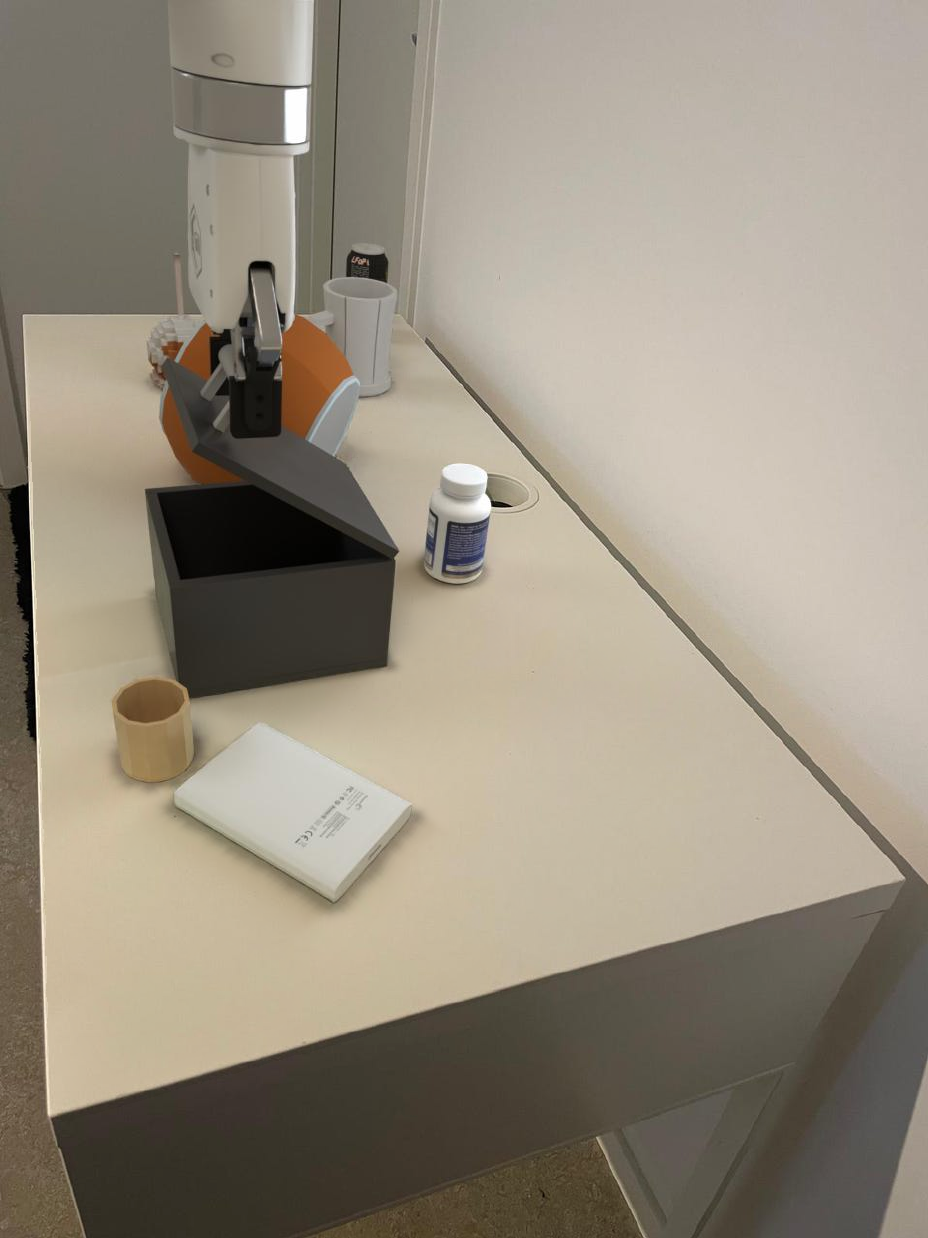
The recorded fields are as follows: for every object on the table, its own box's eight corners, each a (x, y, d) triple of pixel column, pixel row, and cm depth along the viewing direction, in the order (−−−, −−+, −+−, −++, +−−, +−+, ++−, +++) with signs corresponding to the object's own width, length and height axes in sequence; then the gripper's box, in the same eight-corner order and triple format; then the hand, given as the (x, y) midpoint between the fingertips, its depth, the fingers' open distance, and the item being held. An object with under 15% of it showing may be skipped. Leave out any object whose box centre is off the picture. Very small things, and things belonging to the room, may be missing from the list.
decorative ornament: (160, 398, 104) (148, 264, 96) (145, 373, 110) (132, 244, 101) (226, 393, 108) (221, 263, 99) (209, 368, 113) (202, 243, 104)
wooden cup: (124, 788, 57) (115, 731, 55) (117, 739, 61) (108, 683, 58) (198, 774, 59) (193, 718, 56) (187, 727, 62) (182, 671, 60)
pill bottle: (492, 567, 83) (507, 473, 78) (461, 592, 80) (475, 495, 74) (444, 546, 85) (455, 452, 80) (411, 569, 82) (421, 473, 76)
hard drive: (261, 736, 63) (411, 817, 58) (174, 809, 57) (334, 906, 52) (260, 719, 62) (413, 800, 57) (172, 791, 56) (334, 888, 51)
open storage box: (180, 700, 64) (169, 588, 59) (155, 593, 74) (144, 488, 69) (387, 666, 70) (396, 560, 64) (339, 571, 80) (343, 472, 74)
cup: (370, 408, 109) (375, 309, 102) (301, 391, 111) (302, 292, 104) (401, 380, 117) (408, 286, 110) (337, 365, 119) (340, 271, 112)
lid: (191, 452, 54) (237, 386, 53) (161, 365, 64) (199, 308, 62) (393, 559, 64) (435, 507, 63) (340, 471, 74) (376, 424, 73)
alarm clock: (230, 424, 101) (223, 264, 91) (376, 459, 98) (386, 298, 88) (133, 498, 86) (112, 317, 76) (303, 542, 83) (305, 360, 73)
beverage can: (373, 326, 133) (378, 240, 126) (390, 339, 129) (396, 252, 122) (337, 328, 130) (340, 241, 123) (353, 342, 126) (357, 253, 119)
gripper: (152, 83, 55) (168, 366, 66) (199, 137, 43) (210, 476, 53) (274, 95, 58) (271, 365, 69) (351, 149, 46) (334, 469, 56)
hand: (244, 411), depth 61 cm, fingers closed on lid, 6 cm apart
